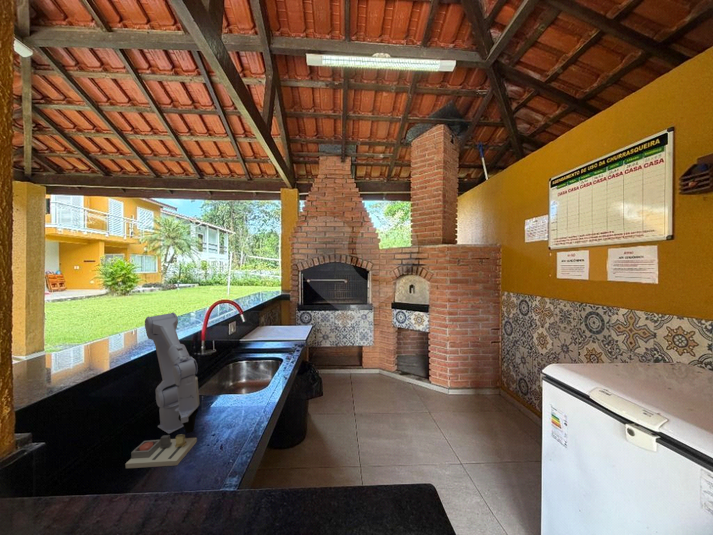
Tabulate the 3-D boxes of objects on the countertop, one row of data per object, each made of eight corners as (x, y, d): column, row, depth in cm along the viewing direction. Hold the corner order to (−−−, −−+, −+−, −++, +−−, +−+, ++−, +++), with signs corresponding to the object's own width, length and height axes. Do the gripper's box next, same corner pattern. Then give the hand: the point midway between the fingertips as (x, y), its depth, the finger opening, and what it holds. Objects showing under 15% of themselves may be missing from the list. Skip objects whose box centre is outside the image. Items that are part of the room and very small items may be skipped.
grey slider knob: (160, 448, 92) (159, 438, 92) (163, 444, 94) (163, 434, 94) (168, 447, 92) (167, 437, 92) (172, 443, 94) (171, 434, 94)
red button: (137, 456, 89) (136, 449, 89) (145, 448, 93) (145, 442, 93) (148, 455, 89) (147, 448, 89) (156, 447, 93) (155, 441, 93)
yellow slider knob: (175, 447, 92) (174, 437, 92) (178, 443, 94) (177, 434, 94) (183, 446, 92) (182, 437, 92) (186, 442, 94) (185, 433, 94)
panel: (125, 468, 86) (124, 457, 86) (151, 444, 97) (150, 434, 97) (177, 465, 86) (176, 454, 86) (196, 441, 97) (196, 432, 97)
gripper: (178, 388, 103) (181, 423, 104) (168, 407, 90) (172, 447, 90) (200, 384, 106) (202, 418, 106) (193, 402, 92) (196, 441, 93)
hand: (190, 431), depth 99 cm, fingers closed
